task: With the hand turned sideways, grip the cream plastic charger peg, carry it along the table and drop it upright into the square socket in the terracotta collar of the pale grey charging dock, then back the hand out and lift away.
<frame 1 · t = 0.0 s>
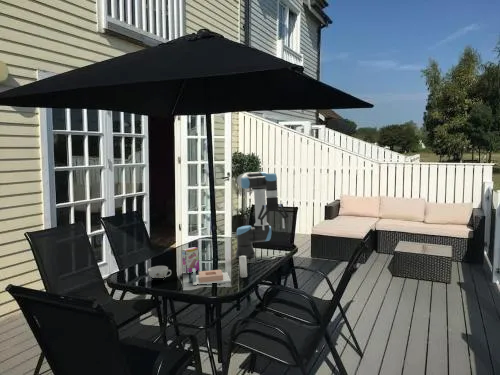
hand: (273, 229, 280), 28 cm above the table, tool pointing down, fingers open, 13 cm apart
teacup: (160, 280, 274), on the table
candy bar box: (191, 272, 290), on the table
charging dock: (211, 279, 269), on the table
charger peg: (243, 276, 272), on the table
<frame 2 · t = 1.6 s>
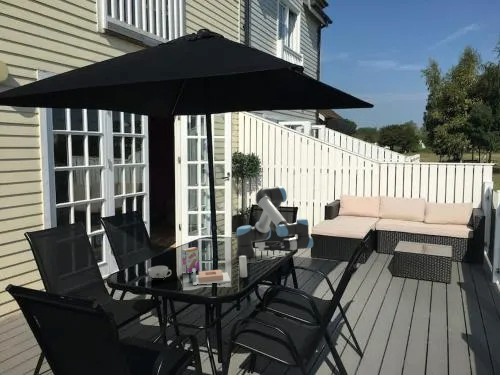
hand: (256, 247, 273), 18 cm above the table, tool horizontal, fingers open, 13 cm apart
nothing on the table moved.
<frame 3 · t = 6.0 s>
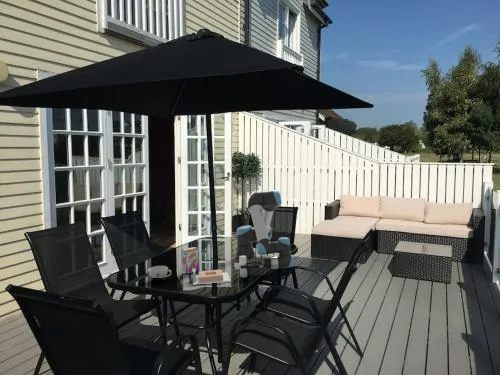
hand: (234, 266, 271), 7 cm above the table, tool horizontal, fingers closed on charger peg, 4 cm apart
charger peg: (243, 276, 272), on the table, touching gripper
everything else where it was.
when the fingers open (9 cm above the table, at t = 12.6 s): charger peg drops 1 cm, resting on charging dock.
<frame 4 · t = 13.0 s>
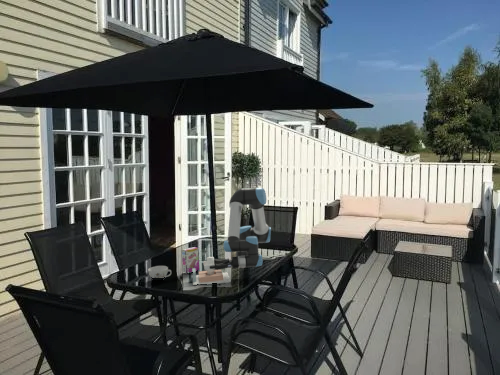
hand: (203, 265, 268), 9 cm above the table, tool horizontal, fingers open, 11 cm apart
charger peg: (210, 277, 269), point 1 cm above the table, touching charging dock
everything else where it was.
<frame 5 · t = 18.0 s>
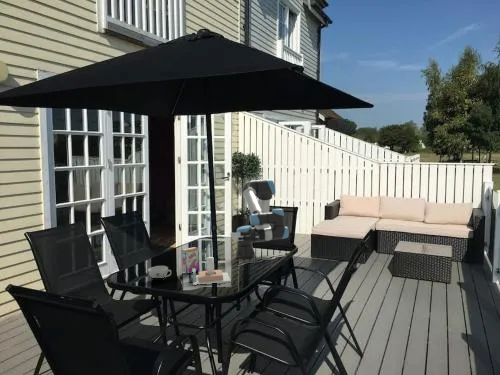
hand: (231, 237, 270), 26 cm above the table, tool horizontal, fingers open, 13 cm apart
nothing on the table moved.
at the end: charger peg 0.1 cm off-centre on the charging dock, point 1.0 cm above the charging dock's base; charger peg tilted 1°; the gripper is holding nothing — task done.
